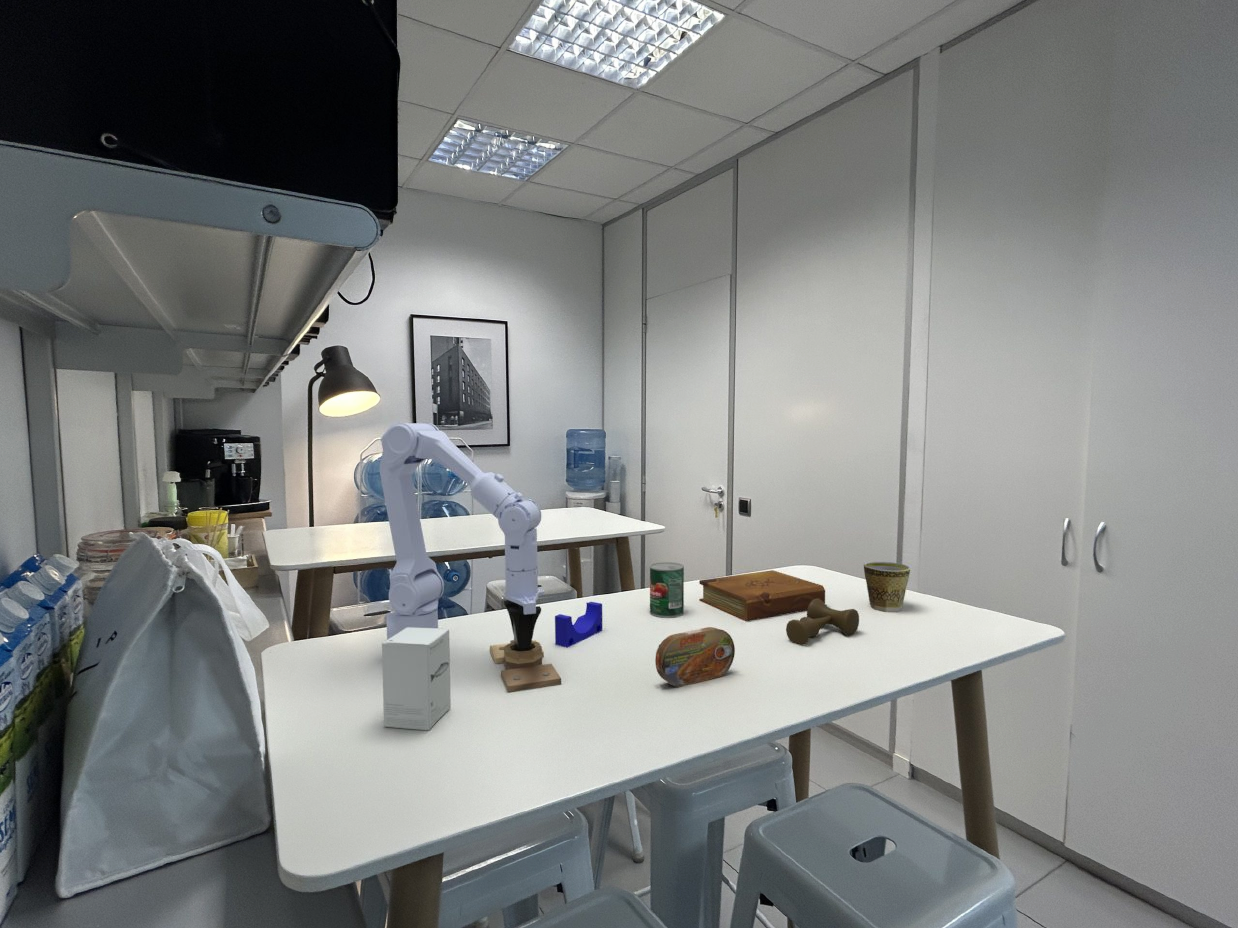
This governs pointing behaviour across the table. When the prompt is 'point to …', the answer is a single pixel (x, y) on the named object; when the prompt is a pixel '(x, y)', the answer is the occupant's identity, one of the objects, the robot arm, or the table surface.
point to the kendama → (821, 622)
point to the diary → (760, 594)
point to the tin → (694, 656)
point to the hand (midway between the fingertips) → (522, 642)
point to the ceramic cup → (886, 585)
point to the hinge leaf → (516, 653)
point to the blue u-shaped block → (578, 626)
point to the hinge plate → (529, 675)
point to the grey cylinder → (516, 646)
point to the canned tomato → (666, 589)
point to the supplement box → (416, 678)
